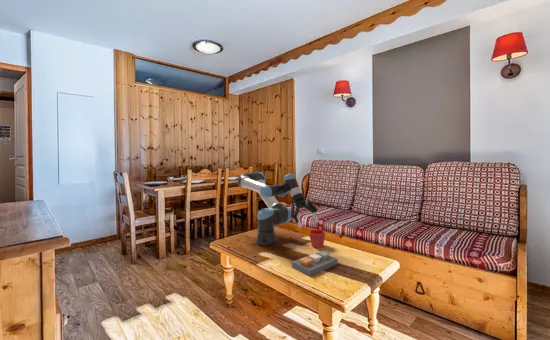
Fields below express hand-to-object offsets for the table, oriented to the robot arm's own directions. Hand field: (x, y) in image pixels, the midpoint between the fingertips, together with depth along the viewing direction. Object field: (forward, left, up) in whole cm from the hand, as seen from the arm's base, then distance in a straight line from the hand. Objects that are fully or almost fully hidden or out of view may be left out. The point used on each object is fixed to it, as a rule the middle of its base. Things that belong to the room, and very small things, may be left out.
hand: (309, 224), depth 169 cm
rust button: (+18, -21, -14) cm, 31 cm away
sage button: (+18, -7, -14) cm, 24 cm away
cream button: (+18, -14, -14) cm, 27 cm away
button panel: (+18, -14, -17) cm, 28 cm away
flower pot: (-2, +9, -17) cm, 19 cm away
